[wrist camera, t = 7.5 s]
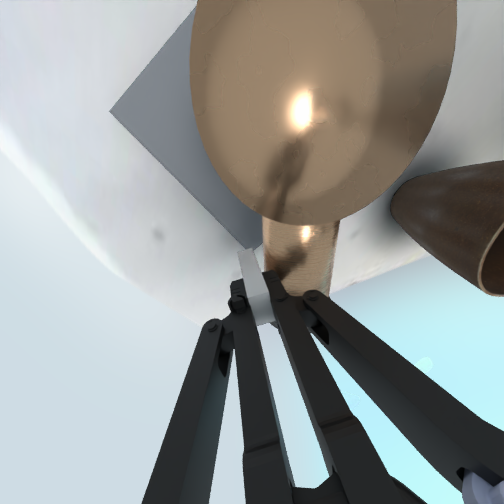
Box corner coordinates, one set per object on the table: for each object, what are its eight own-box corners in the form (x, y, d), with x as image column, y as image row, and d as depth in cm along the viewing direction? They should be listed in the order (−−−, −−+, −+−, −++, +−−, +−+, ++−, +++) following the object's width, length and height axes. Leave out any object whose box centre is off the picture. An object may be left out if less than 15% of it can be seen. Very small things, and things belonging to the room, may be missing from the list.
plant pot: (468, 186, 33) (651, 211, 19) (400, 253, 38) (508, 314, 24) (425, 128, 28) (637, 103, 14) (351, 215, 32) (454, 263, 18)
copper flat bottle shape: (181, -8, 12) (141, -182, 6) (385, -7, 13) (529, -145, 7) (229, 295, 22) (233, 347, 16) (337, 278, 24) (378, 321, 18)
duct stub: (384, 169, 30) (465, 178, 20) (263, 265, 34) (281, 309, 24) (282, -90, 17) (363, -394, 8) (113, 113, 22) (29, 81, 12)
